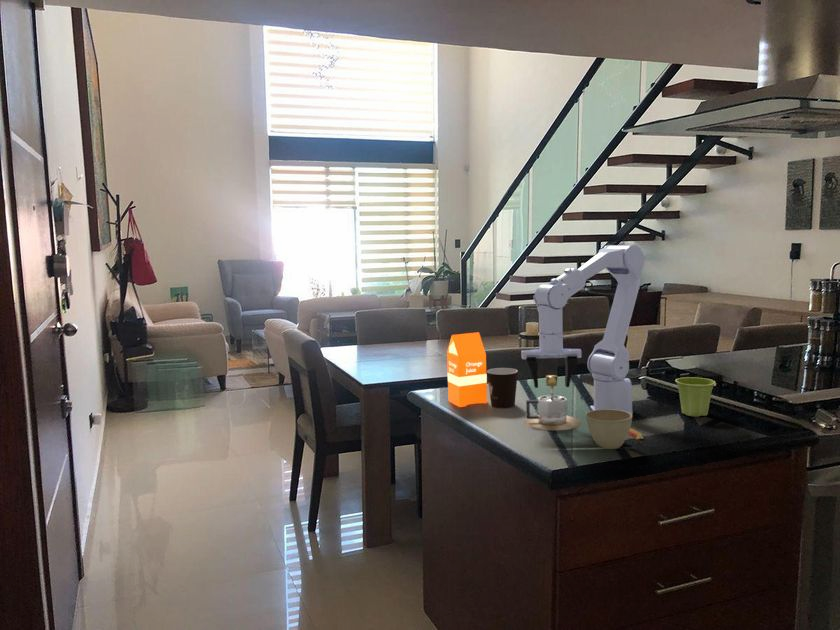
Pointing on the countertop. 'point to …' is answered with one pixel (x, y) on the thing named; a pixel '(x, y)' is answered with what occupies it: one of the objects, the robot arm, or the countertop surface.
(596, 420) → the beige bowl
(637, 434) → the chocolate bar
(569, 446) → the countertop surface
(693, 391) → the plant pot
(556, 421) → the press carafe
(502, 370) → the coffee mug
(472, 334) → the orange juice
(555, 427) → the cork mat
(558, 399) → the plunger
